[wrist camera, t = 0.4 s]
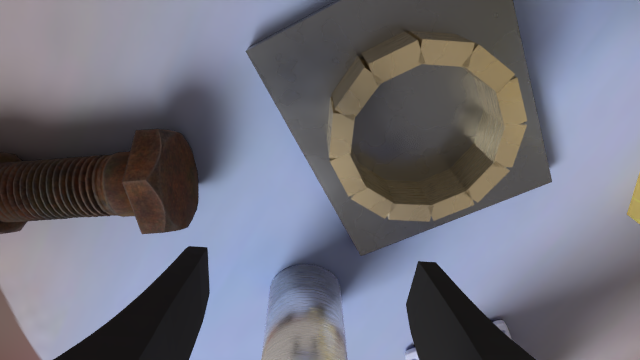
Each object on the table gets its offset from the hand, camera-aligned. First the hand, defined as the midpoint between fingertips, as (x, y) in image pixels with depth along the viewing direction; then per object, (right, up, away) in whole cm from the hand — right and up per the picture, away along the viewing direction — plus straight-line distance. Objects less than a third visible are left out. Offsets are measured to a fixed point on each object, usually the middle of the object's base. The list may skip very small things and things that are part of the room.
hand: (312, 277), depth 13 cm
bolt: (-14, +4, +9) cm, 18 cm away
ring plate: (+5, +7, +8) cm, 12 cm away
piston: (-1, -5, +14) cm, 15 cm away
